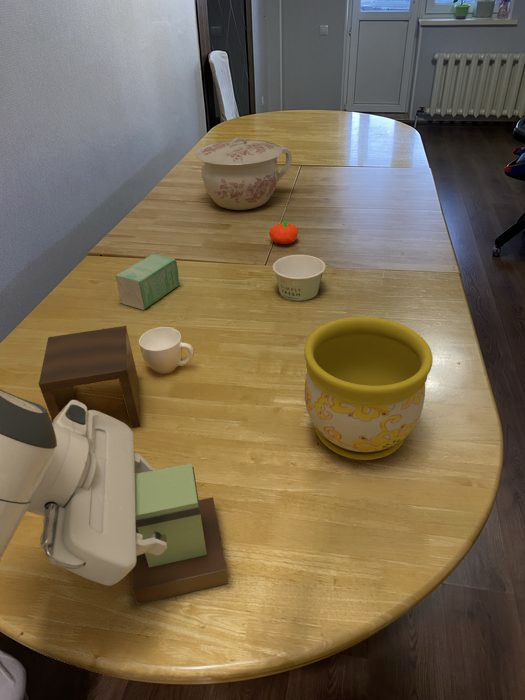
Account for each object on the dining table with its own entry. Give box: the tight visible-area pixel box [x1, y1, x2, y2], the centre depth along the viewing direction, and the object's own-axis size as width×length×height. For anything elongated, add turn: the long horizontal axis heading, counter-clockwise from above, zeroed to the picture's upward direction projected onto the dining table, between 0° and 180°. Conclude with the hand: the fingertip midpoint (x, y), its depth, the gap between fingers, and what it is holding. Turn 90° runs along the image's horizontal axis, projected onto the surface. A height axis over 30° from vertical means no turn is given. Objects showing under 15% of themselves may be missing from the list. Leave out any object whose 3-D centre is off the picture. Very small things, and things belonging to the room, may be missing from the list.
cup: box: [138, 326, 195, 375], centre depth 97 cm, size 8×10×7 cm
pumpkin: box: [268, 220, 299, 245], centre depth 142 cm, size 7×8×6 cm
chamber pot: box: [194, 137, 293, 211], centre depth 165 cm, size 28×28×21 cm
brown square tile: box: [131, 496, 229, 605], centre depth 66 cm, size 11×11×3 cm
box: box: [115, 253, 180, 311], centre depth 121 cm, size 7×14×8 cm, turn 150°
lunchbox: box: [135, 462, 207, 568], centre depth 62 cm, size 6×7×10 cm
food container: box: [272, 254, 326, 302], centre depth 120 cm, size 12×12×6 cm
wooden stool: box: [38, 325, 141, 429], centre depth 87 cm, size 13×13×12 cm
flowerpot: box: [303, 316, 434, 461], centre depth 78 cm, size 18×18×16 cm
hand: (161, 511), depth 60 cm, fingers open, 8 cm apart
